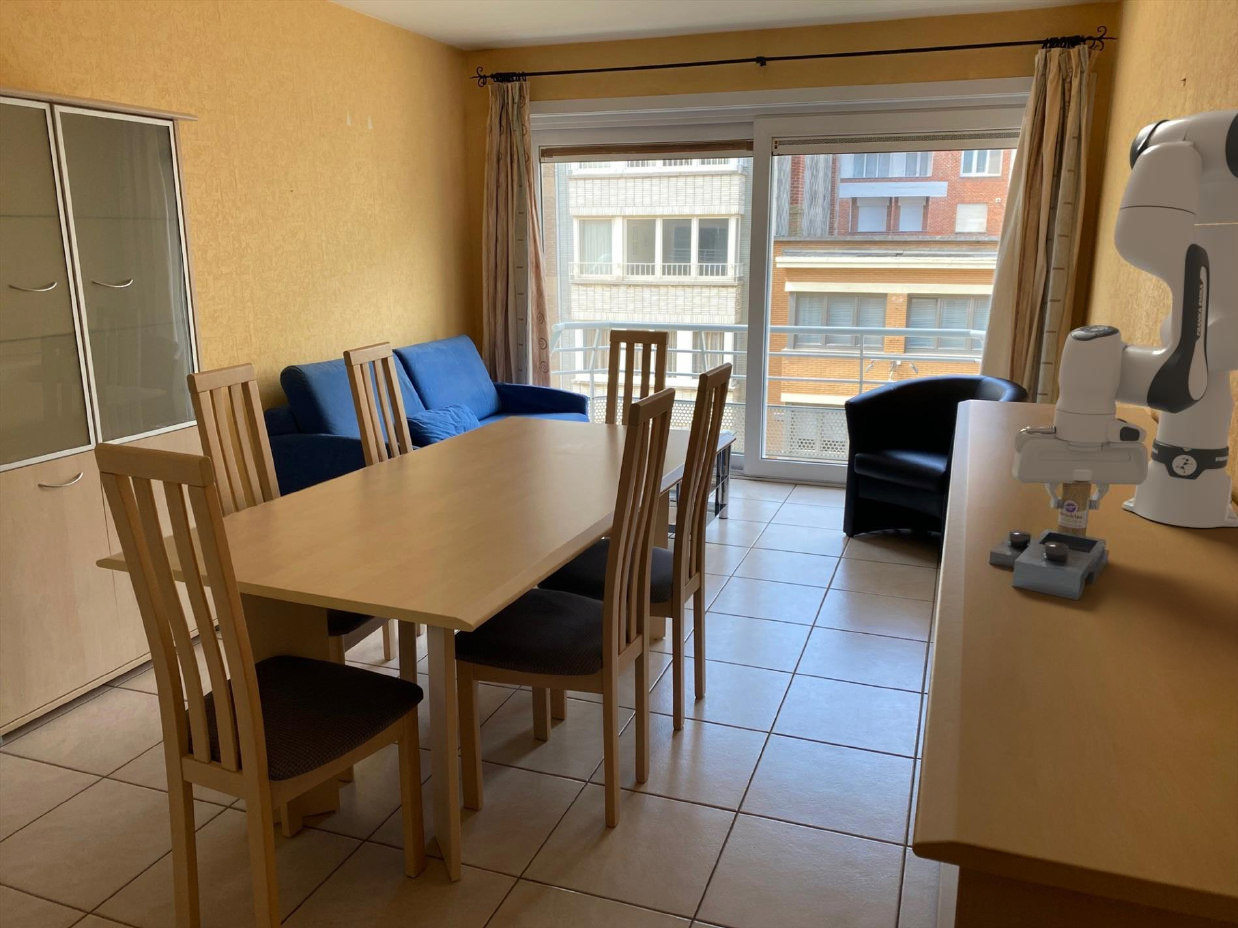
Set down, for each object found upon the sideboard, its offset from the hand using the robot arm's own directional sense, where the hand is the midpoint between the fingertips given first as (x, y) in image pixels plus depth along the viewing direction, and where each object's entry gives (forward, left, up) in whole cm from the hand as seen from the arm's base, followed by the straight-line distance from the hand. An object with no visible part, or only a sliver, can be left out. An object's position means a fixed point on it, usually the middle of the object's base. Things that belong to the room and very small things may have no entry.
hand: (1074, 508), depth 151 cm
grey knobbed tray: (+10, -1, -7) cm, 12 cm away
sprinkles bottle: (0, 0, -6) cm, 6 cm away
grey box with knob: (+15, +2, -7) cm, 16 cm away
